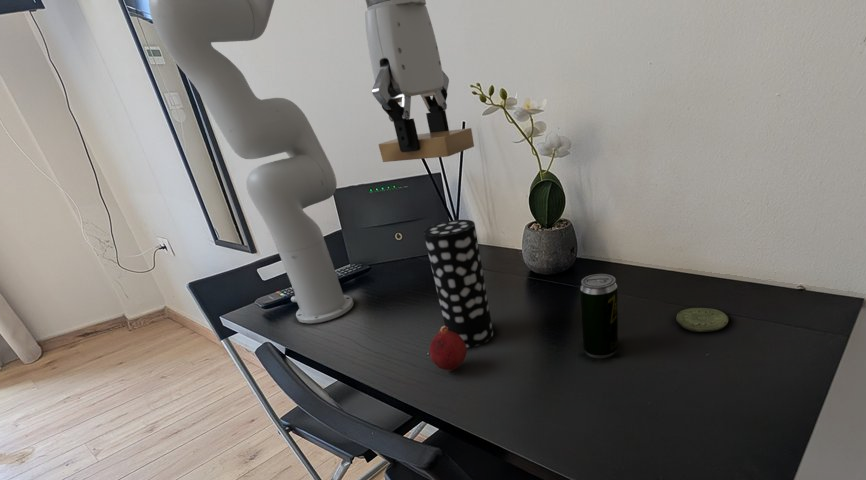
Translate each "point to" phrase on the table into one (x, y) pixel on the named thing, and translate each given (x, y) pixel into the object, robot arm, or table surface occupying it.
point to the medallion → (702, 319)
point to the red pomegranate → (447, 349)
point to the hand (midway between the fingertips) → (426, 144)
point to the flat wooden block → (430, 145)
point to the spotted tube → (460, 280)
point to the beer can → (599, 315)
